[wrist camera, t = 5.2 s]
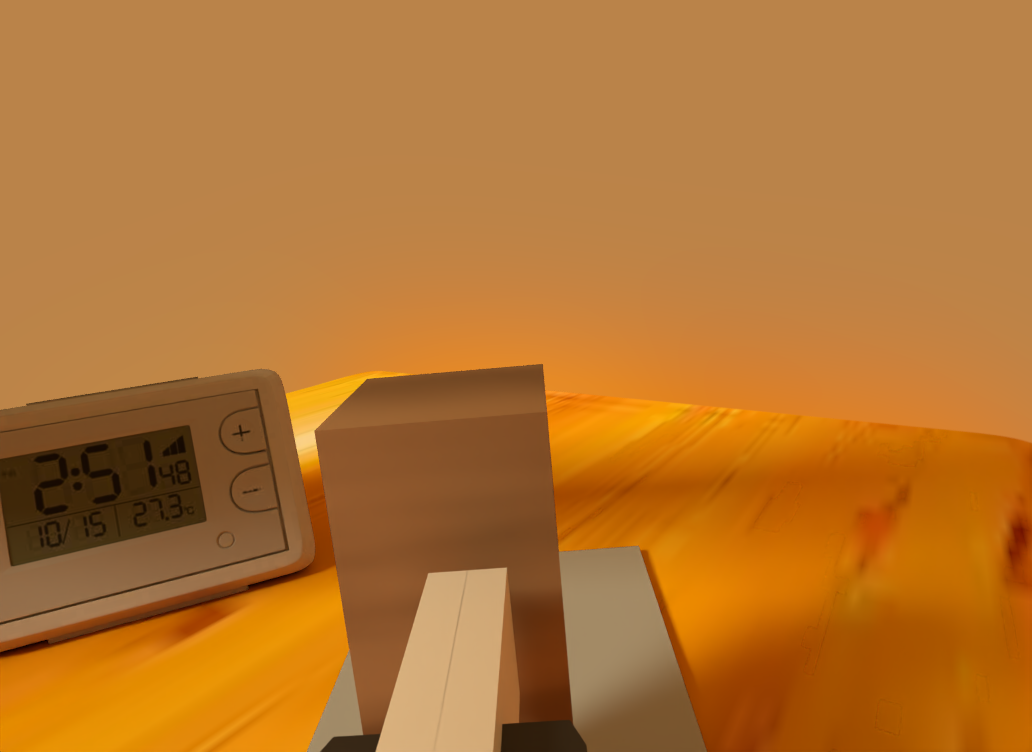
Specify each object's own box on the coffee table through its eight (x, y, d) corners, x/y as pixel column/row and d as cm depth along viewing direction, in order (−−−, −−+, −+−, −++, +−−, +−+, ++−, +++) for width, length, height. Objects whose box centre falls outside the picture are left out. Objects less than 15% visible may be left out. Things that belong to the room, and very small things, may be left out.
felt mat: (805, 1062, 14) (805, 1047, 14) (174, 1090, 15) (171, 1076, 15) (639, 553, 36) (638, 545, 35) (386, 572, 36) (385, 564, 36)
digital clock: (-70, 680, 30) (-142, 447, 28) (24, 582, 39) (-25, 397, 37) (314, 605, 34) (278, 391, 31) (322, 530, 42) (294, 357, 40)
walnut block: (592, 953, 16) (546, 411, 13) (399, 963, 16) (314, 430, 14) (579, 796, 21) (542, 364, 18) (427, 805, 21) (367, 378, 18)
